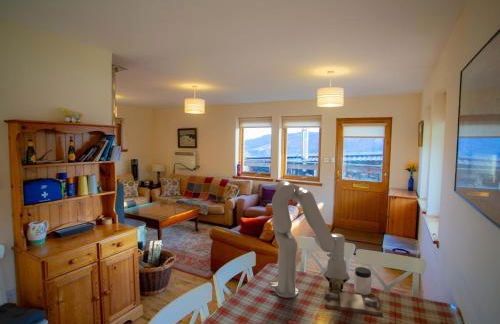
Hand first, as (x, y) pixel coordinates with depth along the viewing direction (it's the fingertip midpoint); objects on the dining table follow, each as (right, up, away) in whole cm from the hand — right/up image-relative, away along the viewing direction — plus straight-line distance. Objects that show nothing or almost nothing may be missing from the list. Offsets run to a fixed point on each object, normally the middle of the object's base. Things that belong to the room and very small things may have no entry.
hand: (335, 289), depth 158 cm
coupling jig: (+4, -1, -13) cm, 14 cm away
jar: (+14, -1, -1) cm, 14 cm away
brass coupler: (0, -1, 0) cm, 1 cm away
